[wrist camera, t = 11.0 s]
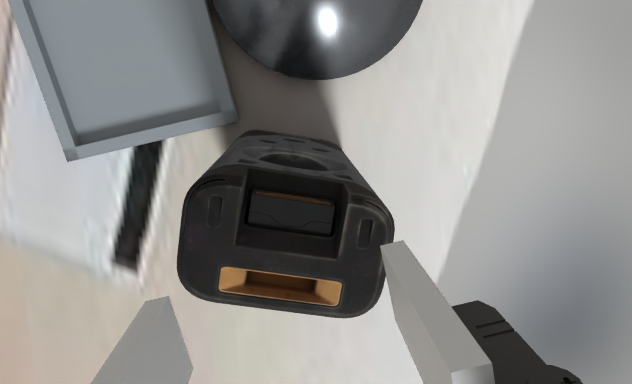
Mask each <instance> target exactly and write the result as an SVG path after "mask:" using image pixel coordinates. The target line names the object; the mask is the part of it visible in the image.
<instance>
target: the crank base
mask: <svg viewBox="0 0 632 384" xmlns="http://www.w3.org/2000/svg"><path fill="white" fill-rule="evenodd" d="M422 1H423V0H212V2H213V5H214V7H215V9H216V11H217V13H218V15H219V18H220V19H221V21H222V23H223V24H224V26H225V27H226V29H227V31H228V32H229V33H230V35H231V36H232V37H233V38H234V39H235V41H236V42H237V43H238V44H239V45H240V46H241V47H242V48H243V49H244V50H245V51H246V52H247V53H248V54H249V55H251V56H252V57H253V58H255V59H256V60H258V61H259V62H260V63H262V64H263V65H265V66H267V67H269V68H271V69H272V70H274V71H277V72H279V73H282V74H284V75H287V76H291V77H295V78H299V79H308V80H328V79H334V78H340V77H344V76H347V75H351V74H354V73H357V72H359V71H361V70H363V69H365V68H367V67H369V66H371V65H372V64H374V63H375V62H377V61H379V60H380V59H381V58H383V57H384V56H385V55H386V54H387V53H389V52H390V51H391V50H392V49H393V48H394V47H395V46H396V45H397V44H398V43H399V41H400V40H401V39H402V38H403V36H404V35H405V34H406V32H407V31H408V30H409V28H410V27H411V25H412V23H413V21H414V19H415V17H416V16H417V14H418V11H419V9H420V6H421V4H422Z"/></svg>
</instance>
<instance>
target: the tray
mask: <svg viewBox="0 0 632 384" xmlns="http://www.w3.org/2000/svg"><path fill="white" fill-rule="evenodd" d="M8 2H9V5H10V8H11V10H12V13H13V16H14V18H15V21H16V24H17V27H18V29H19V32H20V35H21V37H22V40H23V43H24V45H25V48H26V51H27V54H28V56H29V59H30V62H31V64H32V67H33V70H34V73H35V75H36V78H37V81H38V83H39V86H40V89H41V91H42V94H43V97H44V100H45V102H46V105H47V108H48V110H49V113H50V116H51V119H52V121H53V124H54V127H55V129H56V132H57V135H58V137H59V140H60V143H61V146H62V148H63V151H64V154H65V156H66V159H67V162H69V161H73V160H78V159H82V158H86V157H90V156H95V155H99V154H103V153H107V152H111V151H116V150H120V149H124V148H128V147H133V146H137V145H141V144H145V143H149V142H154V141H158V140H162V139H166V138H171V137H175V136H179V135H183V134H187V133H192V132H196V131H200V130H204V129H209V128H213V127H217V126H221V125H225V124H230V123H234V122H237V121H239V117H238V114H237V110H236V106H235V102H234V99H233V95H232V91H231V88H230V84H229V80H228V76H227V73H226V69H225V65H224V61H223V58H222V54H221V50H220V47H219V43H218V39H217V35H216V32H215V28H214V24H213V21H212V17H211V13H210V9H209V6H208V2H207V0H8Z"/></svg>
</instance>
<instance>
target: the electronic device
mask: <svg viewBox="0 0 632 384" xmlns="http://www.w3.org/2000/svg"><path fill="white" fill-rule="evenodd" d="M394 231H395V227H394V220H393V217H392V215H391V213H390V212H389V210H388V209H387V207H386V206H385V205H384V204H383V202H382V201H381V200H380V198H379V197H378V196H377V195H376V193H375V192H374V191H373V189H372V188H371V187H370V186H369V184H368V183H367V182H366V180H365V179H364V178H363V177H362V175H361V174H360V173H359V171H358V170H357V169H356V168H355V166H354V165H353V164H352V163H351V161H350V160H349V159H348V157H347V156H346V155H345V154H344V152H343V151H342V150H341V149H340V148H339V146H337V145H336V144H334V143H332V142H328V141H324V140H318V139H312V138H306V137H300V136H293V135H287V134H281V133H275V132H269V131H263V130H250V131H247V132H245V133H244V134H242V135H241V136H240V137H239V138H238V139H237V140H236V141H235V142H234V143H233V144H232V145H231V146H230V148H229V149H228V150H227V151H226V152H225V153H224V154H223V155H222V156H221V157H220V158H219V159H218V160H217V161H216V162H215V163H214V164H213V165H212V166H211V167H210V168H209V169H208V170H207V171H206V172H205V173H204V174H203V175H202V176H201V177H200V178H199V179H198V180H197V181H196V182H195V183H194V184H193V185H192V187H191V188H190V189H189V191H188V192H187V194H186V197H185V199H184V204H183V209H182V217H181V227H180V236H179V245H178V254H177V272H178V276H179V279H180V281H181V283H182V285H183V286H184V287H185V289H186V290H187V291H188V292H190V293H191V294H192V295H194V296H196V297H198V298H200V299H203V300H206V301H211V302H216V303H223V304H231V305H239V306H247V307H255V308H262V309H270V310H278V311H286V312H294V313H302V314H310V315H317V316H325V317H333V318H353V317H357V316H360V315H362V314H365V313H366V312H367V311H369V310H370V309H371V308H373V307H374V305H375V304H376V303H377V301H378V299H379V298H380V295H381V292H382V289H383V286H384V281H385V277H386V272H385V267H384V262H383V258H382V253H381V248H380V246H381V245H385V244H390V243H393V239H394Z"/></svg>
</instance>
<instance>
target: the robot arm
mask: <svg viewBox="0 0 632 384" xmlns="http://www.w3.org/2000/svg"><path fill="white" fill-rule="evenodd" d="M380 248H381V253H382V258H383V262H384V267H385V272H386V277H387V282H388V286H389V291H390V296H391V301H392V306H393V311H394V315H395V320H396V322H397V325H398V327H399V329H400V331H401V334H402V336H403V338H404V340H405V343H406V345H407V347H408V349H409V352H410V354H411V356H412V358H413V361H414V363H415V365H416V367H417V370H418V372H419V374H420V376H421V378H422V381H423V383H424V384H583V383H582V382H581V381H580V379H579V378H578V377H576V376H575V375H573V374H572V373H570V372H569V371H568V370H565V369H562V368H559V367H556V366H553V365H546V364H545V362H543V360H542V359H541V358H540V357H539V356H538V355H537V354H536V353H535V352H534V350H533V349H532V348H531V347H530V346H529V345H528V344H527V343H526V342H525V341H524V340H523V339H522V337H521V336H520V335H519V334H518V333H517V332H515V331H514V329H513V328H512V327H511V326H510V324H509V323H508V322H506V321H505V319H504V318H503V317H502V316H501V314H500V313H499V312H498V311H497V310H496V309H495V308H493V307H491V306H489V305H487V304H485V303H483V302H480V301H473V302H469V303H465V304H460V305H456V306H452V307H451V306H450V305H449V303H448V302H447V300H446V299H445V298H444V296H443V295H442V293H441V292H440V291H439V289H438V288H437V287H436V285H435V284H434V282H433V281H432V280H431V278H430V277H429V275H428V274H427V273H426V271H425V270H424V269H423V267H422V266H421V264H420V263H419V262H418V260H417V259H416V258H415V256H414V255H413V253H412V252H411V251H410V249H409V248H408V247H407V245H406V244H405V242H404V241H403V240H402V241H398V242H394V243H390V244H385V245H381V246H380ZM192 371H193V366H192V363H191V360H190V357H189V354H188V351H187V348H186V345H185V343H184V340H183V337H182V334H181V331H180V328H179V325H178V322H177V319H176V316H175V313H174V310H173V307H172V304H171V301H170V298H169V296H166V297H162V298H158V299H154V300H150V301H146V302H145V303H144V305H143V306H142V308H141V309H140V311H139V312H138V314H137V315H136V317H135V318H134V320H133V321H132V323H131V324H130V326H129V327H128V329H127V330H126V332H125V333H124V335H123V336H122V338H121V339H120V341H119V342H118V344H117V345H116V347H115V348H114V350H113V351H112V353H111V354H110V356H109V357H108V359H107V360H106V362H105V363H104V365H103V366H102V368H101V369H100V371H99V372H98V374H97V375H96V377H95V378H94V380H93V381H92V383H91V384H188V382H189V379H190V376H191V374H192Z"/></svg>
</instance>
